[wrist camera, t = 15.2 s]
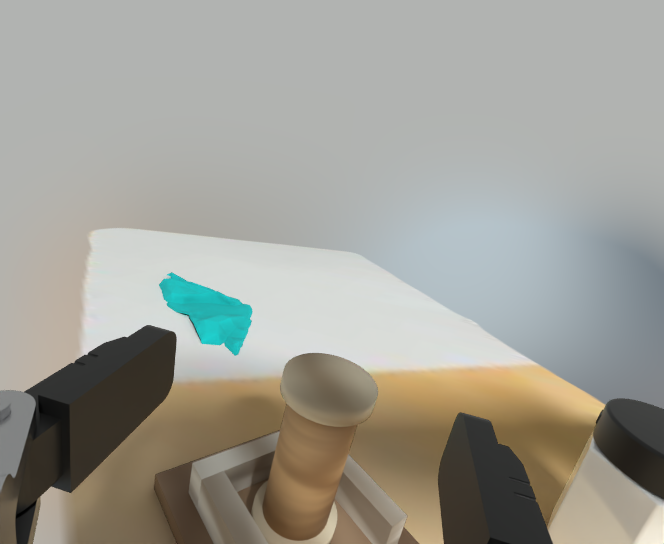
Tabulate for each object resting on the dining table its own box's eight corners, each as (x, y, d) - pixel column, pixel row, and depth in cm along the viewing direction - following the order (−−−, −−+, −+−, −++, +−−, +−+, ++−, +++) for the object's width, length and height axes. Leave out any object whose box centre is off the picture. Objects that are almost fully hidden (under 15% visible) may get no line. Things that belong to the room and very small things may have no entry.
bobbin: (303, 473, 30) (337, 347, 27) (350, 536, 26) (397, 397, 23) (235, 503, 26) (265, 361, 23) (278, 580, 22) (322, 422, 19)
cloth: (281, 359, 48) (284, 343, 47) (159, 367, 41) (161, 349, 41) (232, 280, 70) (234, 268, 69) (147, 277, 63) (148, 264, 62)
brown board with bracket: (302, 431, 36) (310, 397, 35) (490, 641, 23) (512, 597, 22) (154, 487, 27) (158, 445, 26) (315, 876, 14) (337, 822, 13)
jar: (633, 536, 33) (703, 417, 29) (704, 650, 25) (812, 508, 21) (524, 502, 34) (580, 383, 30) (560, 602, 26) (641, 458, 22)
